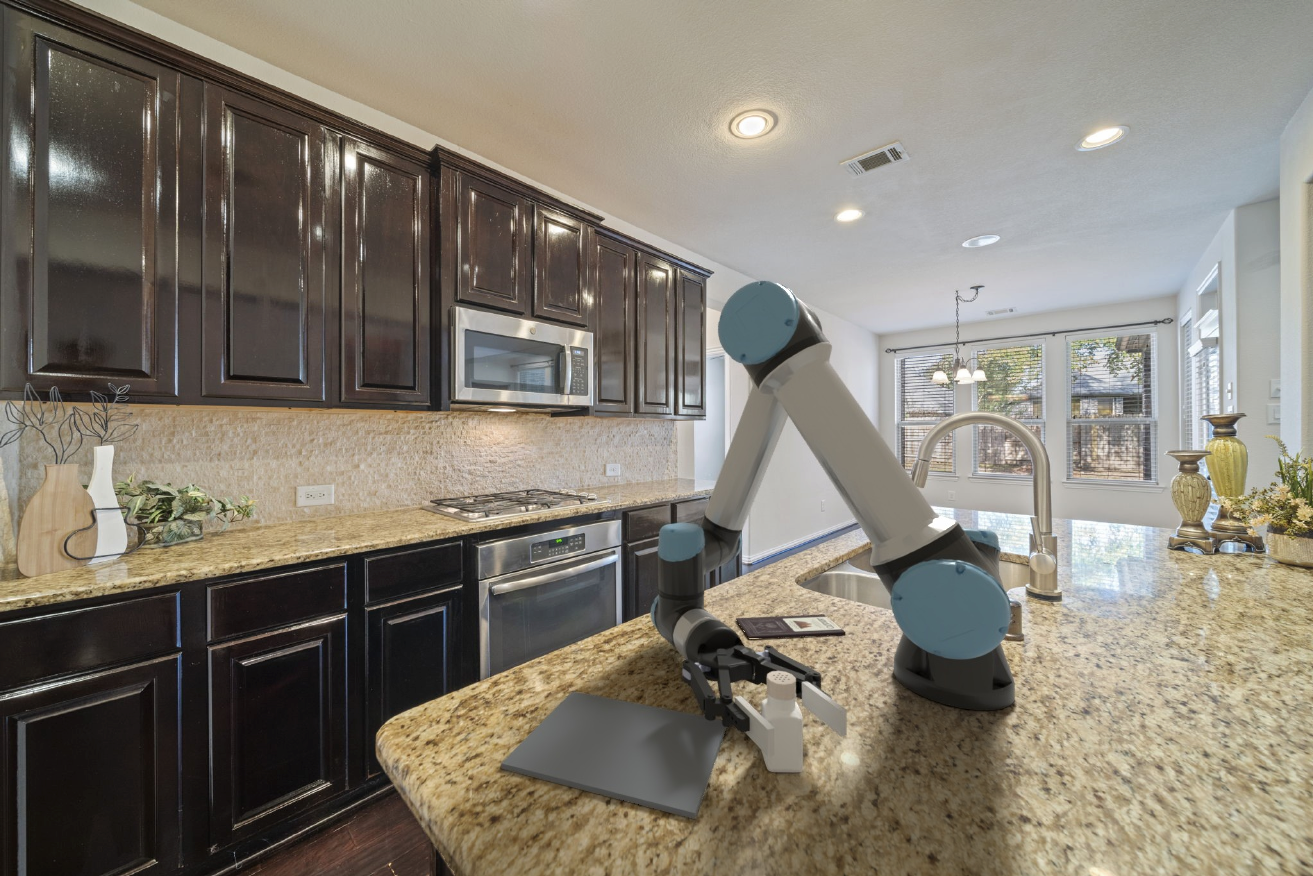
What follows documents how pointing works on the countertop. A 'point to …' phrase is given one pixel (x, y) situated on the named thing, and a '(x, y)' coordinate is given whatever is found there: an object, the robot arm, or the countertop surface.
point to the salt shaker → (783, 723)
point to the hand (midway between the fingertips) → (808, 732)
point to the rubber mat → (623, 752)
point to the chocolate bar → (789, 626)
